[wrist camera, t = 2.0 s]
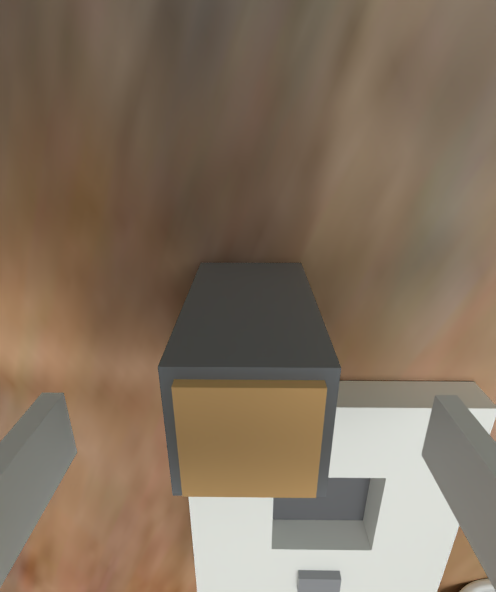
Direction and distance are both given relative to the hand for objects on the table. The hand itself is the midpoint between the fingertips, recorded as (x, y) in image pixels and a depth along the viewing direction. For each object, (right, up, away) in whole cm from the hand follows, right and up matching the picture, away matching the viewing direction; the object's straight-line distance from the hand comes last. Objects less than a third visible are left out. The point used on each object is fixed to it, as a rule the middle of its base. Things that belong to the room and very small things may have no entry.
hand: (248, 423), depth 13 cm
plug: (0, +4, +8) cm, 9 cm away
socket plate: (+5, -9, +13) cm, 17 cm away
